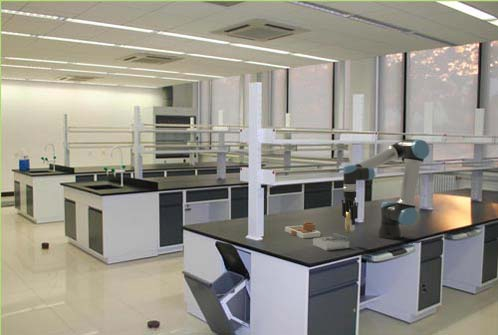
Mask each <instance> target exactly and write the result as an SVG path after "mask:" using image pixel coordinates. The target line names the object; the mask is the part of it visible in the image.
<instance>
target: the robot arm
mask: <svg viewBox="0 0 498 335" xmlns="http://www.w3.org/2000/svg"><path fill="white" fill-rule="evenodd" d="M429 154H430V146H429V144H428V143H427V141H426V140H423V139H417V138H415V139H412V138H411V139H408V138H407V139H406V138H405V139H402V140H399V141H397V142H395V143H394V144H391V145H389V146H388V147H387V148H386V149H384V150H383V151H380V152H379V153H377V154H374V155H373V156H370V157H369V158H367V159H364V160H362V161H360V162H358V163H356V164H345V165H344V166H343V172H342V173H343V198H344V199H341V207H342V208H341V211H342V212H341V213H342V214H341V216H342V217H343V218H344V229H345V230H346V212H350V214H351V219H350V230H353V231H355V230H356V228H355V225H356V219H357V220H358V216H359V215H358V213H359V212H358V211H359V202H358V201H356V198H357V181H370V180H372V181H373V180H374V178H375V176H376V172H375V169H376V168H378V167H380V166H382V165H384V164H386V163H389V162H390V161H393V160H398V159H401V158H403V160H404V162H405V165H404V171H403V172H404V173H403V176H402V177H403V178H402V183H401V188H400V194H399V199H398V200H397V201H383V202H382V203H381V206H380V225H379V229H378V231H377V237H378V238H383V239H388V240H390V239H392V240H396V239H397V240H398V239H402V237H403V235H402V231H401V227H400V225H401V226H406V227H409V226H413V224H415V223H416V222H417V220H418V217H419V213H418V212H417V210H416V204H415V203H414V200H415V197H416V190H417V184H418V179H419V173H420V167H421V165H422V164H423V163H424V161H425V160H424V159H425V158H427V157H428V156H429Z"/></svg>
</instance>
